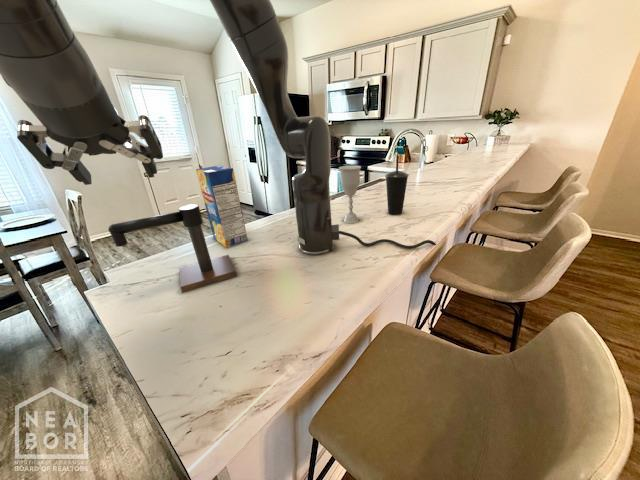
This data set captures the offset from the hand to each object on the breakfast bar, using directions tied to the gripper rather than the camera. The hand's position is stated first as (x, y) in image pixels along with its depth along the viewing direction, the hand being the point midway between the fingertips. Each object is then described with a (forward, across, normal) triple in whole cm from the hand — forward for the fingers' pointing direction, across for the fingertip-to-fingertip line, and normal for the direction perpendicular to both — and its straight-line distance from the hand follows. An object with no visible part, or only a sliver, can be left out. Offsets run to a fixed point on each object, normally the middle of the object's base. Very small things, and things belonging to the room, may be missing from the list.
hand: (121, 176), depth 42 cm
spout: (+17, -1, +3) cm, 18 cm away
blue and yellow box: (+40, -16, -4) cm, 43 cm away
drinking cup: (+32, -72, +3) cm, 79 cm away
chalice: (+34, -56, +1) cm, 65 cm away
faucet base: (+26, -8, +11) cm, 29 cm away
